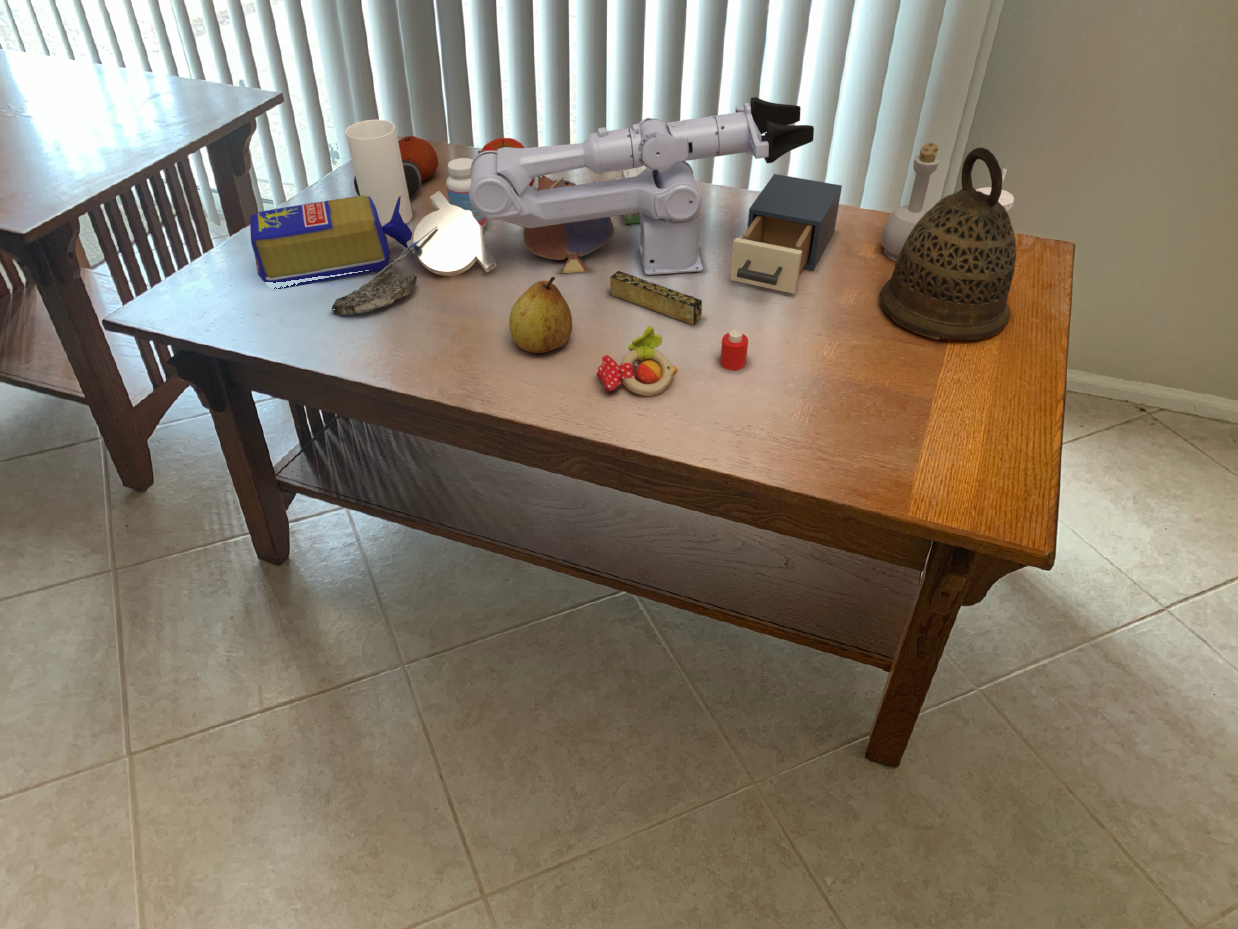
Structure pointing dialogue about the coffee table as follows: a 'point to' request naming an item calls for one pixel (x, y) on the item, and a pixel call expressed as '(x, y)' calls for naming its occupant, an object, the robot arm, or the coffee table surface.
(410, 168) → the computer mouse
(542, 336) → the fruit
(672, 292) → the decorative block
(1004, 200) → the smoothie
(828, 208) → the cabinet
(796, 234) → the drawer
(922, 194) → the potion bottle
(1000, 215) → the bell
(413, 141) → the fruit
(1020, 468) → the coffee table surface
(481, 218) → the pill bottle
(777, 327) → the coffee table surface
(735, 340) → the red cylinder
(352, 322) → the coffee table surface
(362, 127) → the cup
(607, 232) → the fish
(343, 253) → the bread
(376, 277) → the scissors
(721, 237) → the coffee table surface
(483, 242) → the tabbed white plastic disc
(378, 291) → the stone
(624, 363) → the bird rattle
